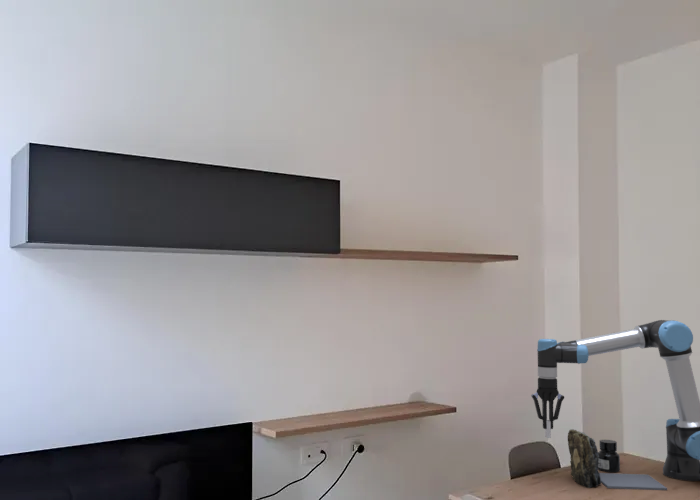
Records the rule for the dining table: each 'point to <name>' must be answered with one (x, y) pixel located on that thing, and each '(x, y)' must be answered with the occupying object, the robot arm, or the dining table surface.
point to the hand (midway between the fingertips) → (548, 437)
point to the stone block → (583, 459)
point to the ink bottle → (608, 456)
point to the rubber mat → (630, 481)
